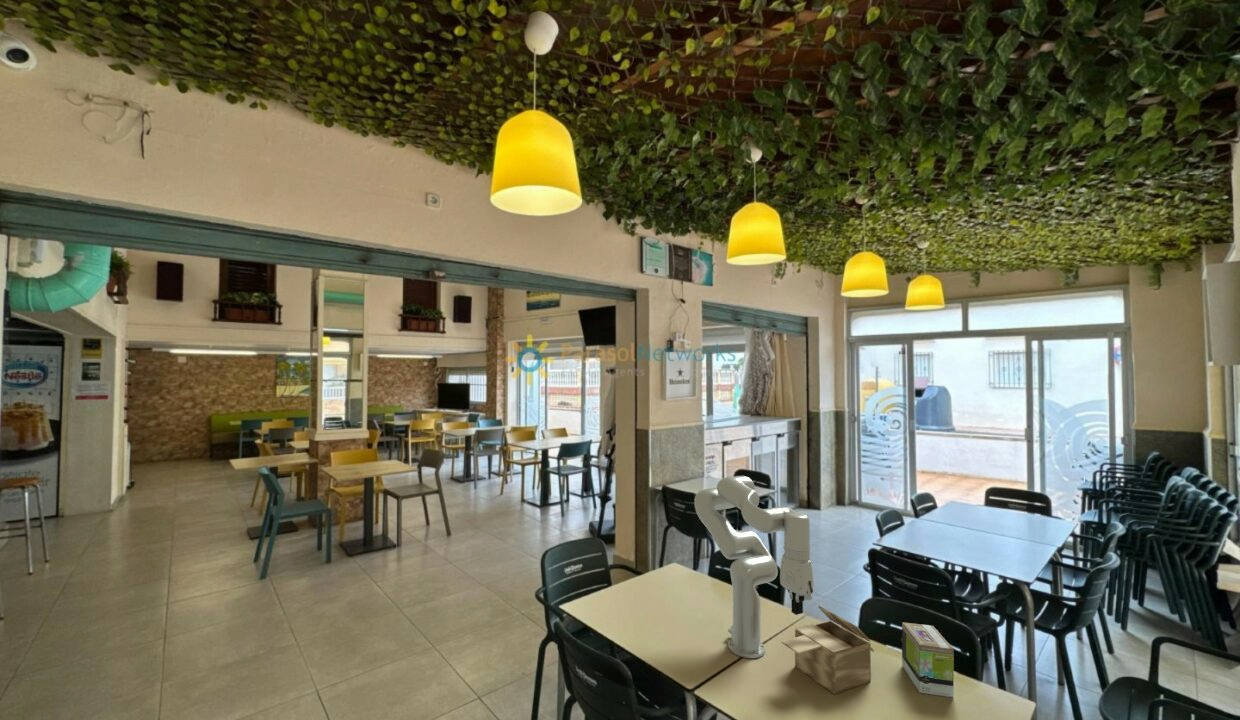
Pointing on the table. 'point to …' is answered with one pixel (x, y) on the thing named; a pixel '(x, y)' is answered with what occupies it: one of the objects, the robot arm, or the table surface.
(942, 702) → the table surface
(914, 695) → the table surface
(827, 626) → the carton
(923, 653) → the tea box
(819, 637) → the near flap
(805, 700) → the table surface
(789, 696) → the table surface
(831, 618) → the far flap
